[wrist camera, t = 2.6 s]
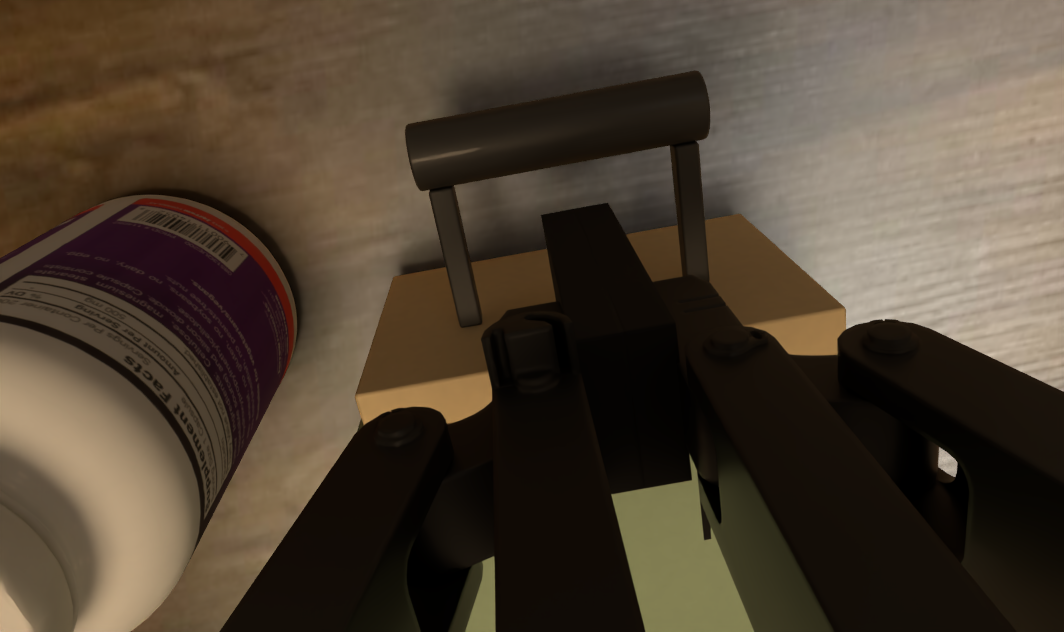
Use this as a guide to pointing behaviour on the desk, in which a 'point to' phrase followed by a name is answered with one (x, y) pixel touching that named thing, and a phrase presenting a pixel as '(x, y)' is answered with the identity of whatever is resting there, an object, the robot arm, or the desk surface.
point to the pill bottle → (127, 402)
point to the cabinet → (659, 565)
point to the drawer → (525, 279)
